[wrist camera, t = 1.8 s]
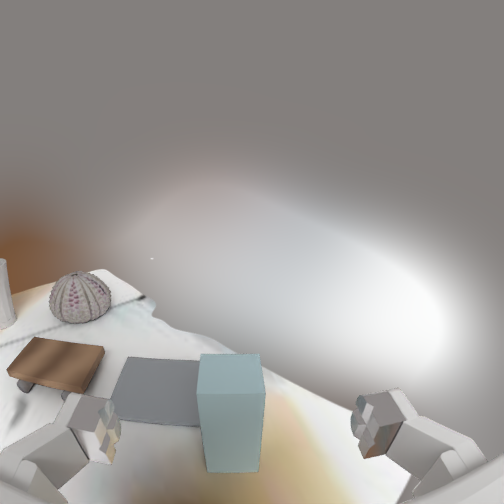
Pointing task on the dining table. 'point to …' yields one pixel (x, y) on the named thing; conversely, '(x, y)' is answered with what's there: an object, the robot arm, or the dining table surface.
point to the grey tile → (158, 391)
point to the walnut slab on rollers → (56, 365)
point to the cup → (5, 299)
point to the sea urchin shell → (79, 297)
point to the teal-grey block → (231, 411)
